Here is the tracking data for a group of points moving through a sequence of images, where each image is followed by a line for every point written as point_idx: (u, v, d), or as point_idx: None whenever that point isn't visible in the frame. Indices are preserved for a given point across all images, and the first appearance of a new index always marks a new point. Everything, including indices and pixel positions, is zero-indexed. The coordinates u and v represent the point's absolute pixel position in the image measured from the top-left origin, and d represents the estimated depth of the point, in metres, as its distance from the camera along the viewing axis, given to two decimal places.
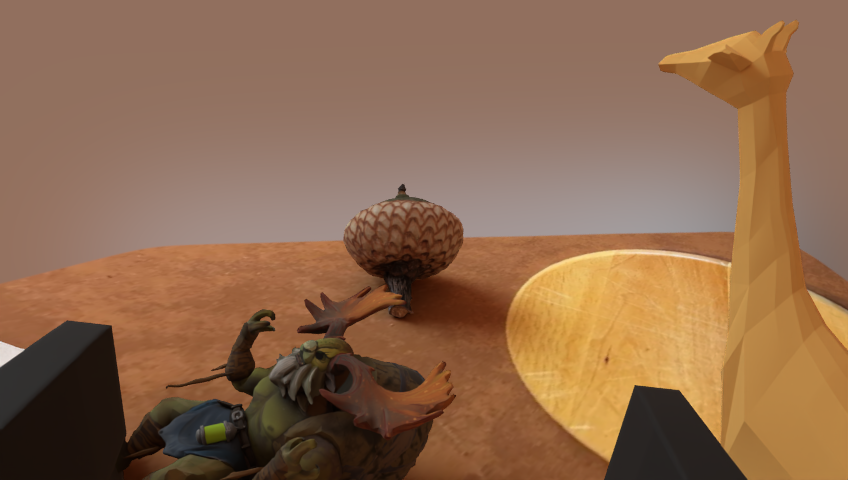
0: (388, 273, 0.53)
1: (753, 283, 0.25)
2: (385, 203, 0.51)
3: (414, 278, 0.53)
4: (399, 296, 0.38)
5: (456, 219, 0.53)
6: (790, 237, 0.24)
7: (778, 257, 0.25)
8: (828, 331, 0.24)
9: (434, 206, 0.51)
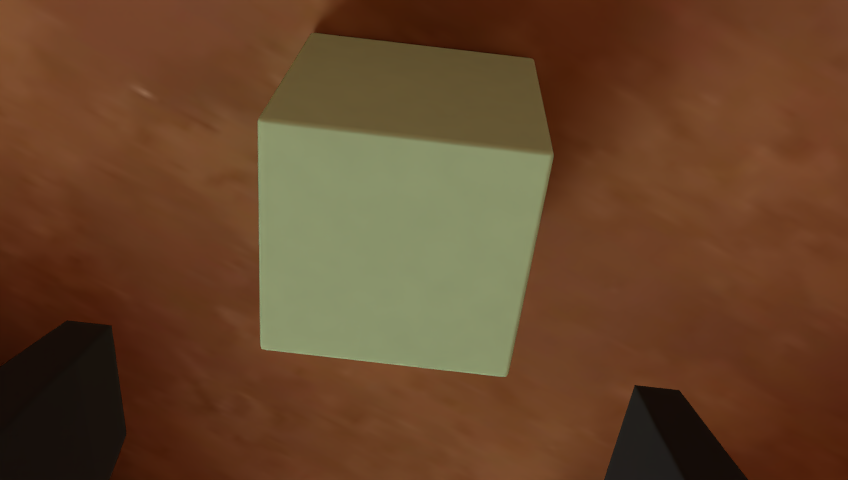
0: None
1: None
2: None
3: None
4: None
5: None
6: None
7: None
8: None
9: None
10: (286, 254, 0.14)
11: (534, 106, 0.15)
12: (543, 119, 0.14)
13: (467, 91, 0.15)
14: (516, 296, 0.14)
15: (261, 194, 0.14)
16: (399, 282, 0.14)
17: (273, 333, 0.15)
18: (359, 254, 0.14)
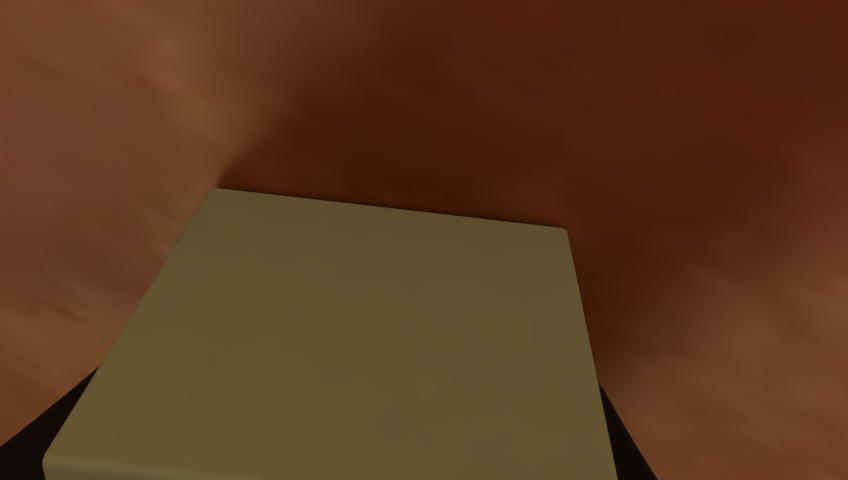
0: None
1: None
2: None
3: None
4: None
5: None
6: None
7: None
8: None
9: None
10: None
11: (578, 366, 0.08)
12: (597, 406, 0.08)
13: (459, 328, 0.09)
14: None
15: None
16: None
17: None
18: None
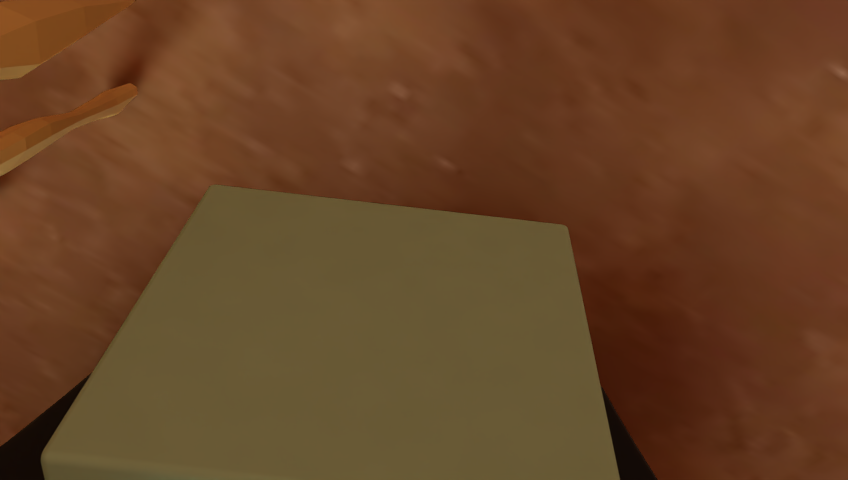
0: None
1: None
2: None
3: None
4: None
5: None
6: None
7: None
8: None
9: None
10: None
11: (579, 363, 0.08)
12: (598, 403, 0.08)
13: (460, 324, 0.08)
14: None
15: None
16: None
17: None
18: None
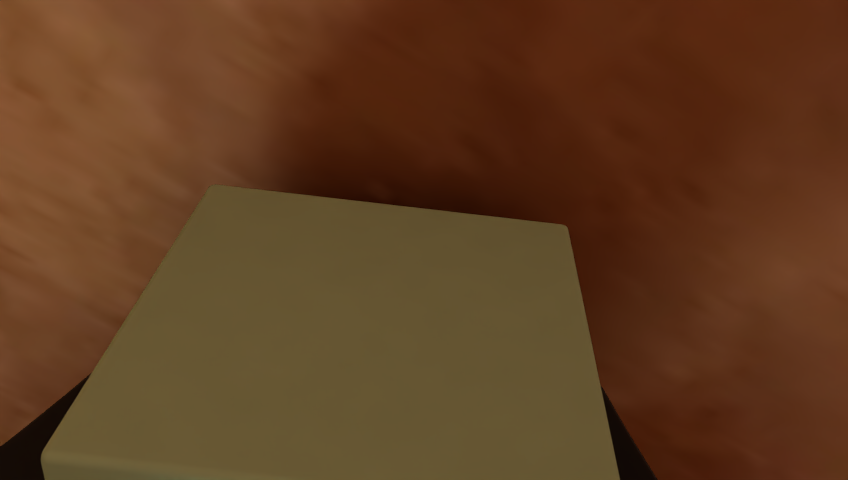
0: None
1: None
2: None
3: None
4: None
5: None
6: None
7: None
8: None
9: None
10: None
11: (579, 362, 0.08)
12: (598, 403, 0.08)
13: (460, 324, 0.09)
14: None
15: None
16: None
17: None
18: None
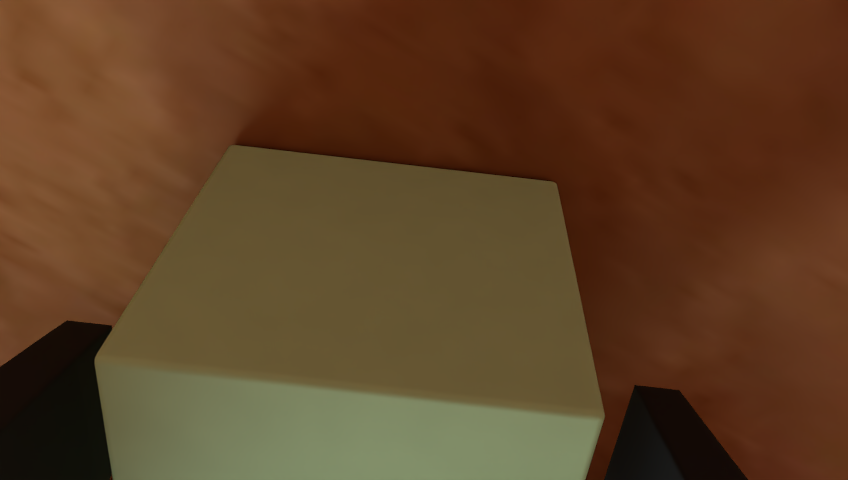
0: None
1: None
2: None
3: None
4: None
5: None
6: None
7: None
8: None
9: None
10: None
11: (564, 293, 0.09)
12: (581, 325, 0.09)
13: (459, 261, 0.09)
14: None
15: (113, 462, 0.08)
16: None
17: None
18: None
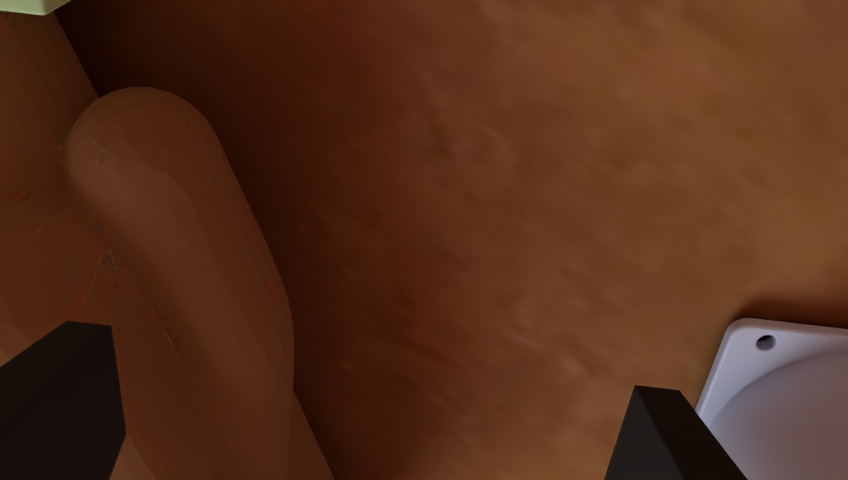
0: None
1: None
2: None
3: None
4: None
5: None
6: None
7: None
8: None
9: None
10: None
11: None
12: None
13: None
14: None
15: None
16: None
17: None
18: None
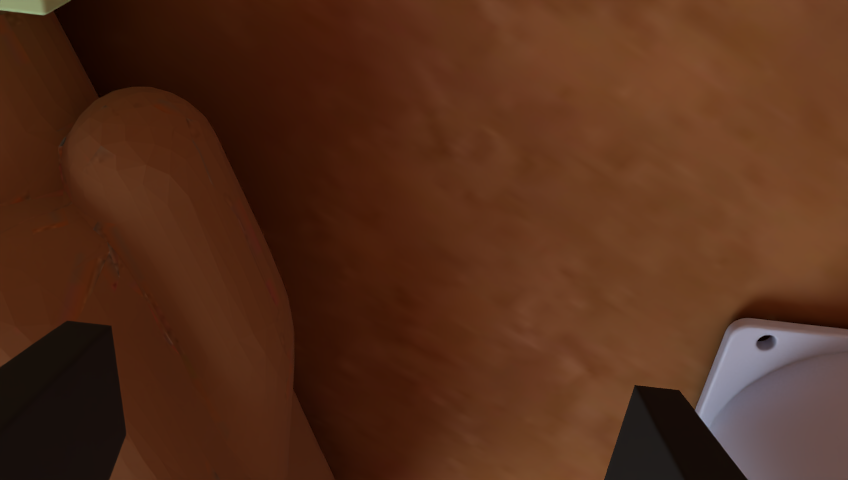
0: None
1: None
2: None
3: None
4: None
5: None
6: None
7: None
8: None
9: None
10: None
11: None
12: None
13: None
14: None
15: None
16: None
17: None
18: None
